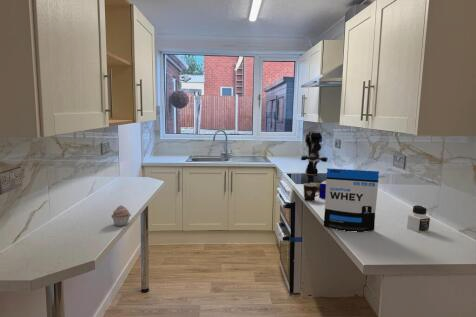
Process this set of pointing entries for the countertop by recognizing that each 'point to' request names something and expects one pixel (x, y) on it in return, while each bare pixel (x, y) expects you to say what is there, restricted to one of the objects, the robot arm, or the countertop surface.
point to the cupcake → (121, 216)
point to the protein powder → (351, 199)
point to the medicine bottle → (418, 219)
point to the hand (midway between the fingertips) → (313, 170)
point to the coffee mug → (310, 191)
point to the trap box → (317, 186)
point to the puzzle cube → (323, 186)
